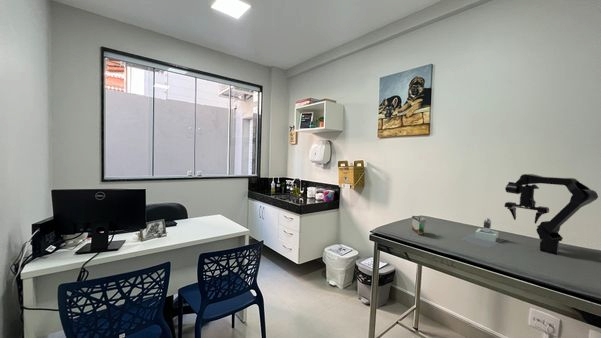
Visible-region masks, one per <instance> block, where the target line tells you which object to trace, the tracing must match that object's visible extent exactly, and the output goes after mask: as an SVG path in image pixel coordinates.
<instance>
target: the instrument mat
mask: <svg viewBox="0 0 601 338" xmlns="http://www.w3.org/2000/svg"><path fill="white" fill-rule="evenodd" d="M457 240H458V241H462V242H466V243H469V244H472V245H477V246H480V247H483V248H487V249H490V248H492V247H493V246H495V245H497V244H500V243H502V242H504V241H506V238H503V237H498V239H497V240H496V242H492V241H488V240H483V239H478V238H475V232H473V233H471V234H470V233H469V234H468V235H465V236H462V237H460V238H458V239H457Z"/></svg>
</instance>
